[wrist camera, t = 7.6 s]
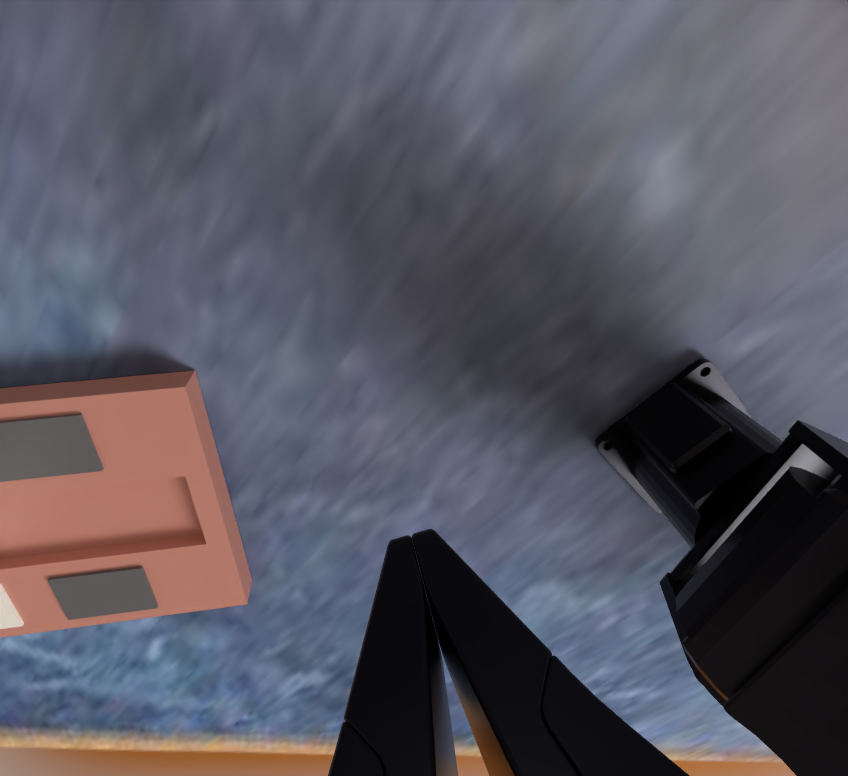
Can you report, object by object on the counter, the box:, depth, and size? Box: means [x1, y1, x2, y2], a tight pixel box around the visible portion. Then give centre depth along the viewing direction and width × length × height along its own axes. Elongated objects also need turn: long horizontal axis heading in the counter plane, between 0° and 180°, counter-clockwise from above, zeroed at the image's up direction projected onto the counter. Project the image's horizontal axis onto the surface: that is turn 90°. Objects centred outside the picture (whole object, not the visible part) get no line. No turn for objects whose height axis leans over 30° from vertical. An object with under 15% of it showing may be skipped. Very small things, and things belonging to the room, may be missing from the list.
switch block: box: [0, 370, 252, 637], centre depth 22 cm, size 18×12×2 cm, turn 93°
